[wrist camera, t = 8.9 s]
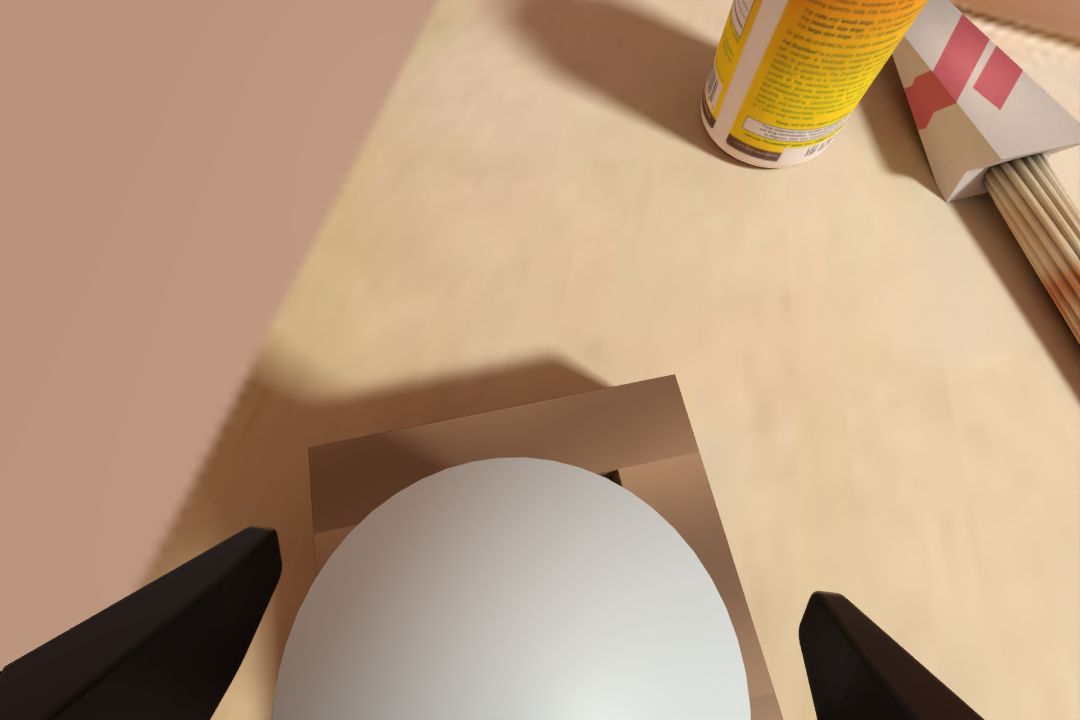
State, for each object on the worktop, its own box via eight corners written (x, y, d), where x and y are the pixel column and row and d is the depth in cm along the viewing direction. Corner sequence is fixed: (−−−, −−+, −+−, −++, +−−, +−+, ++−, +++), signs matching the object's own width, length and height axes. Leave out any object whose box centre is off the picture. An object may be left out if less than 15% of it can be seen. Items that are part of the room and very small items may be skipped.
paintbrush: (968, -53, 22) (1282, 416, 16) (922, 8, 25) (1178, 434, 19) (882, -40, 22) (1171, 446, 16) (844, 21, 25) (1081, 460, 19)
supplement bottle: (859, 143, 23) (1096, -171, 13) (747, 196, 22) (914, -102, 12) (777, 54, 24) (932, -281, 15) (670, 99, 23) (762, -227, 14)
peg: (619, 666, 16) (845, 947, 4) (474, 701, 15) (267, 1113, 4) (585, 517, 17) (678, 407, 6) (452, 546, 17) (251, 497, 5)
